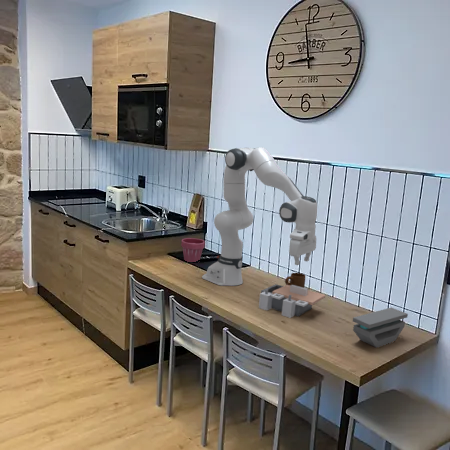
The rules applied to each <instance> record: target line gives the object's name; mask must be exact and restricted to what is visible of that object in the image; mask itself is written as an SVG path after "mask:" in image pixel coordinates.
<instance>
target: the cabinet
mask: <svg viewBox="0 0 450 450" xmlns="http://www.w3.org/2000/svg"><path fill="white" fill-rule="evenodd" d="M283 286H284V285H281V284H277V283H276V284H275V283H274V284H273V285H271V286H268V287H266V288H264V289H262V290H260V293H259V301H258V302H259V303H258V308H259V309H260V310H263V311H269V310H272V309H273V310H275V311H278V312H281V316H283V317H286V318H290V319H291V318H293V317H294V316H295V317H300V316H301V315H304V314H305V313H307V312H308V311H310V310H312V308H313V305H309V304H308V305H306V306H304V307H303V306H300V305H296V304H295V302H296V300H292V299H291V295H289V298H285V297H284V298H282V299H280V300H279V299H276V298H272V297H271V295H273V294H272V292H273V291H274V290H277V289H279V288H281V287H283ZM278 297H279V296H278ZM303 304H304V303H303Z"/></svg>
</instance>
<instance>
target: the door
mask: <svg viewBox="0 0 450 450" xmlns="http://www.w3.org/2000/svg"><path fill="white" fill-rule="evenodd" d="M282 286H283V287H281V288H279V289H277V290H274V291H273V292H272V294H273V295H271V297H272V298H276V299H279V300H280V299H282V298H284V297H285V298H289V295H291V299H292V300H296V302H295V304H296V305H300V306H303V307H304V306H306V305H308V304H309V305H312V306H313V305H315V304H317V303H318V302H320V301H322V300H324V299H326V294H323V293H320V292H319V293H318V292H317V291H316V292H315V291H311V290H309V288H307V287H304V288H303V287H299V286H295V285H291V286H290V285H286V284H285V285H282ZM278 296H279V297H278ZM303 303H304V304H303Z"/></svg>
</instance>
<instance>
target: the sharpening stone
mask: <svg viewBox="0 0 450 450" xmlns="http://www.w3.org/2000/svg"><path fill="white" fill-rule="evenodd" d="M408 315H409V314H408V313H407V312H404V311H402V310H400V309H396V308H394V307H388V308H384V309H380V310H377V311H373V312H369V313H364V314H361V315H358V316H353V317H352V322H353V323H355V324H353V327H352V328H353V329H352V332H354V334H356V337H358V338H359V340H360V341H362V342H364V343H366V344H367V345H370V346H372V347H374V348H377V347H378V348H380V346H381V347H383V345H384V346H386V344H387V345H389V344H392V343H394V342H393V341H395V342H396V340H397V338H398V337H399V335H400V334H401V333H402V331H403V330H404V328H405V324H406V321H404V320H403V319H407V318H408V317H409V316H408ZM391 342H392V343H391ZM388 343H389V344H388Z"/></svg>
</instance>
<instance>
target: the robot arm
mask: <svg viewBox="0 0 450 450" xmlns="http://www.w3.org/2000/svg"><path fill="white" fill-rule="evenodd" d="M224 162H225V166H224V167H225V168H224V173H223V200H224V201H226V202H227V204H228V207H229V210H223V211H220V212H219V213H218V214H216V215H215V217H214V219H213V222H214V223H213V224H214V227H215V229H216V230H217V231H218V232H219V235H220V239H221V251H220V254H218V255H217V256H216V259H217V261H215V262H214V263H212V264H211V265H209V266H208V268H207V270H206V273H204V274H203V275H202V276H201V278H202V279H203V280H205V281H208V282H209V283H210V282H211V283H213V284H215V285H218V286H232V287H233V286H240V285H242V284H243V283H244V281H243V276H242V275H243V274H242V266H243V249H244V248H243V247H244V246H243V245H244V244H243V243H244V242H243V241H242V240H241V238H240V236H239V231H240V230H245V229H247V228H249V227H250V226H252V224H253V223H254V215H253V212H251V211H250V209H249V207H248V204H247V199H246V177H245V176H246V174H247V172H248V171H249V172H253V171H254V174H256V177H257V179H258V180H259V181H260V182H261V183H262V184H263V185H265V186H267V187H271V188H275V189H278V190H279V191H282V192H283V193H284V194H285V195H286V196H287V198H288V200H289V201H286V202H283V203H282V204H281V205H280V207H279V211H278V215H279V218H280V219H281V220H282V221H283V222H284V223H289V224H290V223H295V228H294V229H293V231H292V232H291V233H289V238H290V241H289V248H288V249H289V250H288V252H289V253H288V254H289V255H290V257H293V259H294V266H295V265H296V266H300V265H301V260H300V256H302V255H305V256H304V257H303V259H304V260H303V261H304V262H309V261H310V257H311V254H312V252H314V251H315V250H316V248H317V236H316V221H317V217H318V202H317V200H316V199H315V198H314V197H311V196H307V195H304V194H303V193H302V191H300V189H299V187H298V186H297V185H296V184H295V182H294V181H293V180H292V179H291V178H290V177H289V176H288V175H287V174H286V173H285V172H284V171H283V170H282V168H281V167H280V166H279V165H278V163H277V162H276V160H275V159H274V157H273V156H272V155H271V153H270V152H269V151H268V150H267V148H265V147H263V146H259V147H255V148H254V147H240V148H237V147H236V148H230V149H229V150H227V152H226V153H225V157H224Z"/></svg>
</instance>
